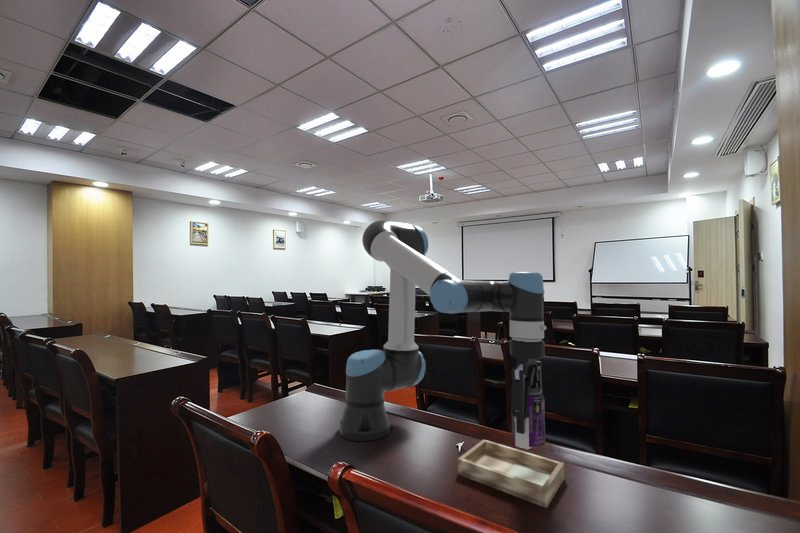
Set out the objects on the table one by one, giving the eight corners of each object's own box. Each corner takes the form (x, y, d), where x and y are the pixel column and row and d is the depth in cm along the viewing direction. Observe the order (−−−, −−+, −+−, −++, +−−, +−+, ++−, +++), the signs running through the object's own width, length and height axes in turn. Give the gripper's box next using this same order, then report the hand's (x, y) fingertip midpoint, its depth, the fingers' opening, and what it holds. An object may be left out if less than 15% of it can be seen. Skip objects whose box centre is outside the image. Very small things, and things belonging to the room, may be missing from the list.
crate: (457, 474, 83) (457, 458, 83) (483, 452, 94) (483, 439, 94) (546, 508, 71) (546, 490, 71) (564, 478, 82) (564, 463, 82)
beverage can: (548, 451, 76) (547, 394, 77) (513, 448, 78) (513, 392, 78) (541, 438, 83) (541, 386, 84) (510, 435, 84) (509, 384, 85)
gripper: (528, 346, 72) (530, 463, 70) (555, 336, 87) (557, 431, 86) (493, 342, 76) (494, 452, 75) (525, 333, 92) (526, 424, 91)
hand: (528, 441), depth 80 cm, fingers closed on beverage can, 7 cm apart
